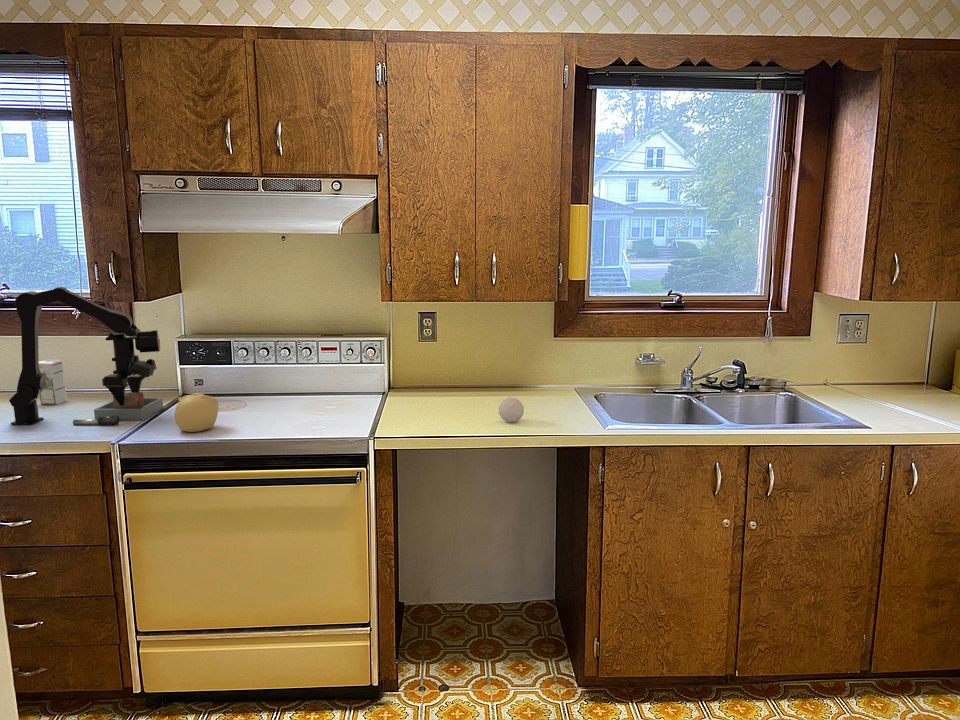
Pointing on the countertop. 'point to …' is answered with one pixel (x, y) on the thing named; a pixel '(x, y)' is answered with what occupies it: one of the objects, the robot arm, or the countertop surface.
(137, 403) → the block
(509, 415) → the ball
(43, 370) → the syrup box
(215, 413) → the sculpture
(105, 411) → the tray
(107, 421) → the pin gauge
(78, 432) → the countertop surface
